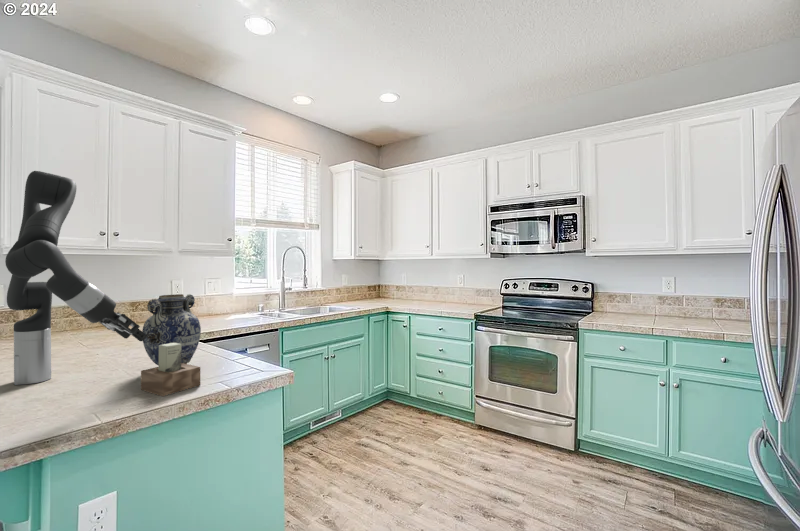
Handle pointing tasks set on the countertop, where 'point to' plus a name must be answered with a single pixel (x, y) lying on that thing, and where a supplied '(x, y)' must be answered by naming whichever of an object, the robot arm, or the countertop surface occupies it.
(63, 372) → the countertop surface
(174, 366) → the box
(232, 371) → the countertop surface
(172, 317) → the decorative vase
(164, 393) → the holder block
